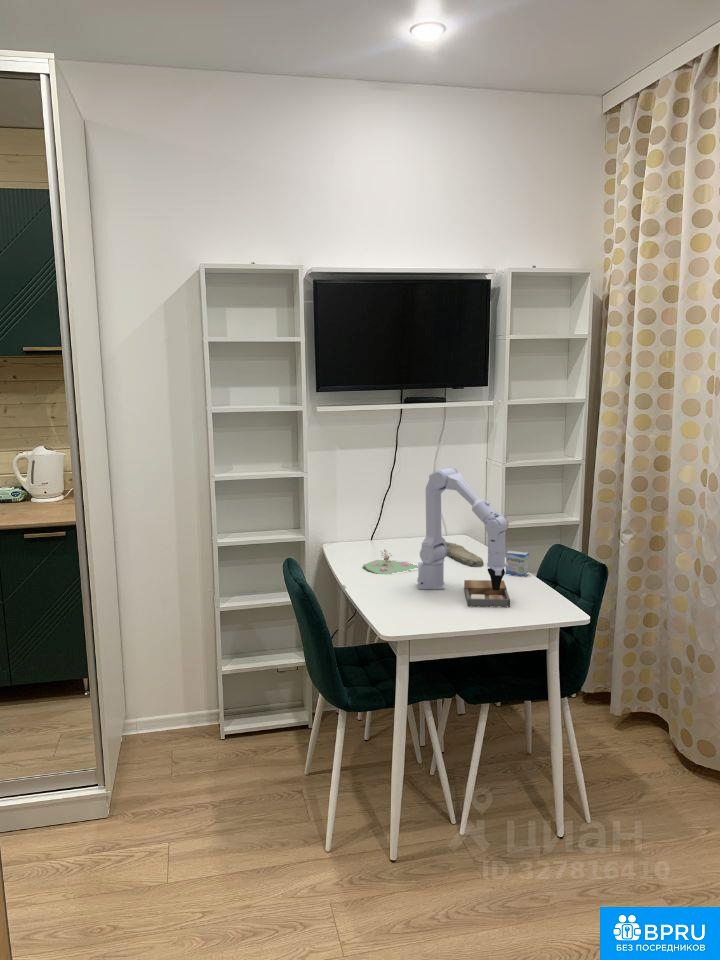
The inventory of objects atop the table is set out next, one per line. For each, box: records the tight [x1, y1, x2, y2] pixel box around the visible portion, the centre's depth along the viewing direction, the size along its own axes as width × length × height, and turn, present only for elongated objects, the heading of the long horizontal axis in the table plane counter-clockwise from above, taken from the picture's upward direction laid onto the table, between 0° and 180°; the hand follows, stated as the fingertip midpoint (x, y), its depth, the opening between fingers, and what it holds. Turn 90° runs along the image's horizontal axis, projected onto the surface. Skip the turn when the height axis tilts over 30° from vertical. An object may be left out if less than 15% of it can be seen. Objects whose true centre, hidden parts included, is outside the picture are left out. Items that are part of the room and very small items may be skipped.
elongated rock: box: [445, 541, 485, 568], centre depth 311 cm, size 35×5×10 cm
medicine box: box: [505, 550, 530, 577], centre depth 284 cm, size 8×4×9 cm, turn 62°
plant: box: [362, 549, 418, 575], centre depth 297 cm, size 25×21×9 cm
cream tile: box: [471, 594, 485, 599], centre depth 252 cm, size 4×4×2 cm
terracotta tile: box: [489, 595, 503, 599], centre depth 251 cm, size 4×4×2 cm
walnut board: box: [463, 579, 508, 596], centre depth 264 cm, size 14×9×3 cm, turn 85°
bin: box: [465, 589, 511, 608], centre depth 254 cm, size 14×11×2 cm
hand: (495, 589), depth 255 cm, fingers closed
